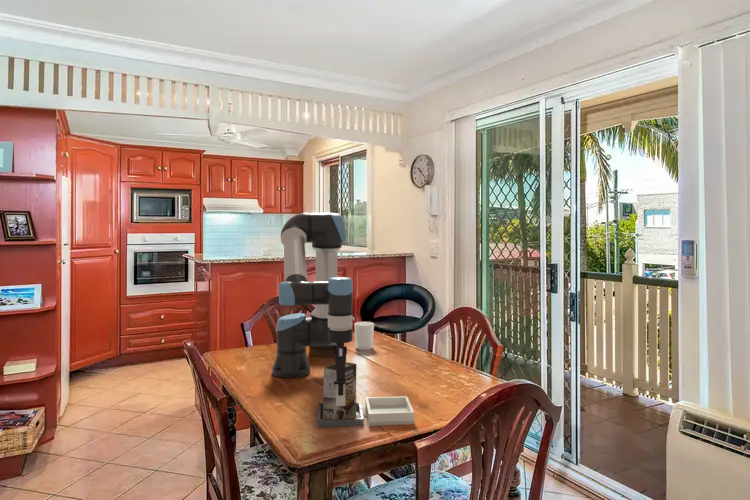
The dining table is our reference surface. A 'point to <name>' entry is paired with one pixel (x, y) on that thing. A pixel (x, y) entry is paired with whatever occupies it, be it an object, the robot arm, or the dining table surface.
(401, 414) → the tray
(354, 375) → the coffee box
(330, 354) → the wooden container
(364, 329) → the candle holder
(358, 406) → the socket collar
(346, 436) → the dining table surface
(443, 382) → the dining table surface
